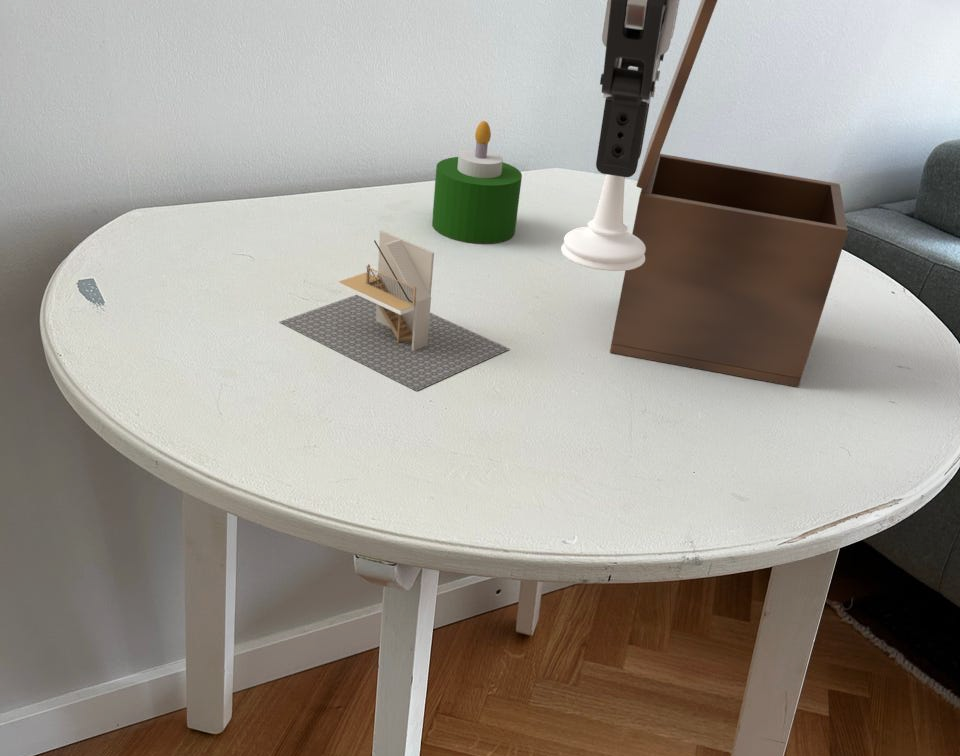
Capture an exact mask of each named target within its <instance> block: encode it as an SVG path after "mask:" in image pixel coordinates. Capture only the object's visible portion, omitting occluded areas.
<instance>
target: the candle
mask: <svg viewBox="0 0 960 756" xmlns="http://www.w3.org/2000/svg"><path fill="white" fill-rule="evenodd" d="M491 137H492V132H491V127H490V124H489V122H487V121H486V120H482V121H481V122H480V123H478V124H477V127H476V129H475V133H474V138H475V141H476V143H475V149H464V150H461V151H460V152H458V156H455V157H449V158H448V157H447V158H444V159H441V160H440V161H438V162H437V164H436V166H435V167H436V168H435V179H434V180H435V181H434V193H433V207H432V208H433V209H432V218H431V219H432V221H431V225H432V228H433V229H434V230H435V231H436V232H437V233H439V234H440V235H442V236H443V237H447V238H449V239H451V240H456V241H459V242H463V243H464V242H465V243H471V244H497V243H502V242H505V241H509V240H510V239H512V238H513V237H515V234H516V228H517V227H516V226H517V218H518V211H519V203H520V196H521V194H520V193H521V187H522V179H523V175H522V172H521V171H520V170H519V169H518V168H516V167H515V166H513V165H511V164H510V163H507V162H504V158H503V157H502V156H501V155H500V154H499V153H496V152H494V151H493V152H492V151H489V150H488V147H489V142H490V141H491Z"/></svg>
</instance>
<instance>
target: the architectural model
mask: <svg viewBox="0 0 960 756" xmlns="http://www.w3.org/2000/svg"><path fill="white" fill-rule="evenodd" d="M373 242H374V243H375V245H376V247H377V249H378V265H377V270H376V269H374V268H371V264H369V263H368V264H366V265H367V266H365V268H366V272H362V273H360V274H357V275H354V276H351V277H348V278H345V279H342V280H339V281H337V282H338V287H339V288H341V289H344V290H345V291H348V292H350V293H352V294H353V295H352V296H349V297H346V298H343V299H340V300H337V301H334V302H331V303H329V304H326V305H322V306H320V307H317V308H314V309H312V310H309V311H306V312H303V313H300V314H297V315H294V316H292V317H288V318H286V319H283V320H280V321H279V323H280V324H282V325H284V326H286V327H289V328H290V329H292V330H294V331H296V332H299V333H300V334H302V335H304V336H306V337H308V338H309V339H312V340H314V341H316V342H318V343H320V344H322V345H324V346H326V347H329V348H330V349H331V350H334V351H336V352H338V353H340V354H342V355H344V356H346V357H348V358H350V359H352V360H354V361H356V362H358V363H360V364H362V365H363V366H366V367H368V368H370V369H372V370H374V371H376V372H378V373H380V374H382V375H384V376H386V377H388V378H390V379H392V380H394V381H396V382H398V383H399V384H400V383H401V384H402V385H404V386H406V387H408V388H410V389H412V390H414V391H416V392H418V391H420V390H422V389H424V388H426V387H429V386H431V385H433V384H436V383H438V382H440V381H442V380H444V379H446V378H449V377H451V376H453V375H455V374H458V373H459V372H460V373H461V372H462V371H464V370H467V369H469V368H471V367H473V366H475V365H477V364H481V363H482V362H484V361H486V360H490V358H493V357H495V356H497V355H500V354H502V353H504V352H506V351H509V350H510V348H509V347H507V346H505V345H502V344H500V343H498V342H496V341H493V340H491V339H489V338H487V337H484V336H483V335H481V334H478V333H476V332H474V331H472V330H470V329H468V328H465V327H462V326H461V325H458V324H456V323H454V322H451V321H449V320H447V319H445V318H443V317H441V316H439V315H436V314H434V313H432V312H431V301H432V286H433V273H434V272H433V271H434V258H435V252H434V251H432V250H429V249H427V248H425V247H423V246H420V245H417V244H415V243H413V242H410V241H408V240H405V239H404V238H401V237H399V236H397V235H394V234H391V233H390V232H387V231H385V230H383V229H382V230H380V231H379V241H378V242H379V243H377V241H376V240H375V239H374V240H373Z"/></svg>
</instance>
